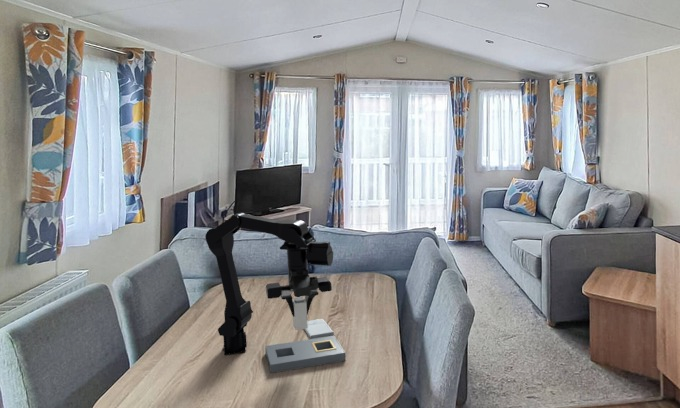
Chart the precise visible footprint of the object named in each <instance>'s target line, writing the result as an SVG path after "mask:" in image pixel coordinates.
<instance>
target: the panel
mask: <svg viewBox="0 0 680 408" xmlns="http://www.w3.org/2000/svg"><path fill="white" fill-rule="evenodd" d="M264 347H265V348H264V349H265V357H266V360H267V363H268V367H269V368H268V369H269V371H270V374H272V373H273V374H274V373H279V372H280V373H281V372H285V371H291V370H298V369H303V368H310V367H316V366H320V365H327V364H328V365H329V364H333V363H339V362H344V361H346V351H345V349H343V347H342V346H341V344H340V342H339V341H338V339H337V338H336V336H335V335H330V336H325V337H319V338H313V339H310V338H309V339H308V338H307V339H303V340H296V341H290V342H288V341H287V342H283V343H276V344H270V345H265V346H264Z"/></svg>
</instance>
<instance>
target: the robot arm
mask: <svg viewBox="0 0 680 408" xmlns="http://www.w3.org/2000/svg"><path fill="white" fill-rule="evenodd" d="M241 229H243V230H244V229H245V230H250V231H254V232H260V233H265V234H269V235H272V236H275V237H276V238H278V239H280V240H281V241H283V244H282V245H281V246H279V249H280V250H281V251H282V250H286V255H287V256H286V257H287V274H288V275H287V277H288V278H287V279H288V280H287V281H288V284H286V285H281V283H280V282H271V283H267V284H266V285H265V294H266V297H267V299H268V300H269V299H277V298H281V300H285V301H286V303H287V305H288V308H289V309H290V313H291V315H292V318H293V317H294V307H293V302H292V300H293V296H292V294H291V292H293V295H294V296H295V297H294V298H300V297H305V298H304V299H305V301H306V304H307V316H308V315H309V310H310V309H311V304H312V302H313V300H314V298H315V296H318V295H319V291H320V292H322V293H326V292H331V291H332V290H333V289H332V287H333V286H332V282H331V280H329V278H327V277H326V276H323V277H317V276H310V275H309V269H308V267H309V266H308V264H309V265H311V266H321V267H322V266H328V267H331V266H332V264H333V261H334V251H333V247H332V245H331V242H330V241H317V240H316V238H315V237H314V236H313V234H312V233H311V231H310V230H309V228H308V225H307V224H306V222H305V221H303V220H301V219H290V220H289V219H287V220H285V219H284V220H278V219H277V220H276V219H273V218H268V217H263V216H258V215H256V216H255V215H252V214H247V213H244V212H238V213H235V214H232V215H231V216H230V217H229V218H228V219H227V220H225V221H224V222H221V223H220V224H219V225H218V226H215V227H212V228H209V229H208V230H207V232H206V233H205V236H204V237H205V238H204V239H205V242H206V244H207V247H208V249H209V251H210V252H211V253H212V254H213V255H214V257H215V259H216V263H217V268H218V272H219V275H220V280H221V281H220V282H221V284H222V288H223V293H224V298H225V306H224V311H223V313H224V315H223V316H224V322H223V323H222V324H221V325H220V326H219V327H218V328H217V332H218V334H219V336H221V337H222V338H223V355H224V356H227V355H232V354H233V355H234V354H240V353H246V351H247V350H246V348H247V345H248V343H247V333H246V332H245V330H244V328H246V327H247V326H248V323H249V322H250V321H251V319H252V317H253V313H254V311H253V309H252V306H251V305H252V304H251V300H247V301H246V299H244V297H243V296H242V292H241V286H240V282H239V278H238V274H237V269H236V265H235V260H234V256H233V249H234V244H235V238H234V235H235V234H236V233H237V232H239V230H241ZM318 290H319V291H318Z"/></svg>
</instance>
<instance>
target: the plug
mask: <svg viewBox="0 0 680 408" xmlns="http://www.w3.org/2000/svg"><path fill="white" fill-rule="evenodd" d="M292 302H293V307H294V317H293V316H292V321H293V322H292V323H293V328H294V330H295V331H299V330H304V329H307V328H308V326H307V321H308V315H307V304H306V301H305V298H304V296H301V297H294V299H292Z"/></svg>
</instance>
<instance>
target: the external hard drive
mask: <svg viewBox="0 0 680 408" xmlns="http://www.w3.org/2000/svg"><path fill="white" fill-rule="evenodd" d="M307 326H308V328H307V329H303V330H304V331H305V332H306V334H307V336H308V337H309V339H315V338H322V337H328V336H335V333H334V332H335V331H334V330H332V329H331V327H330V326H329V324H328V323H327V322H326V321H325V320H324V319H323V318H317V319H312V320H307Z"/></svg>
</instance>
